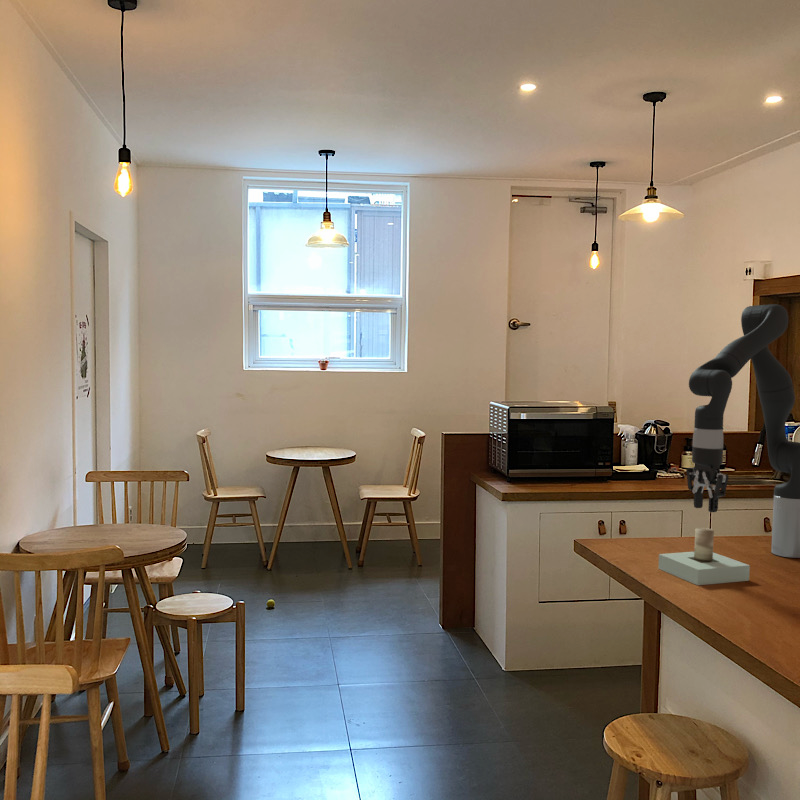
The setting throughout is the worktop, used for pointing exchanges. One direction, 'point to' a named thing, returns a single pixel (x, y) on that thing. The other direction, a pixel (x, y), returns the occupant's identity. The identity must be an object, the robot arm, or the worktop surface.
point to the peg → (703, 545)
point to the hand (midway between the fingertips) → (705, 509)
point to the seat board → (704, 568)
